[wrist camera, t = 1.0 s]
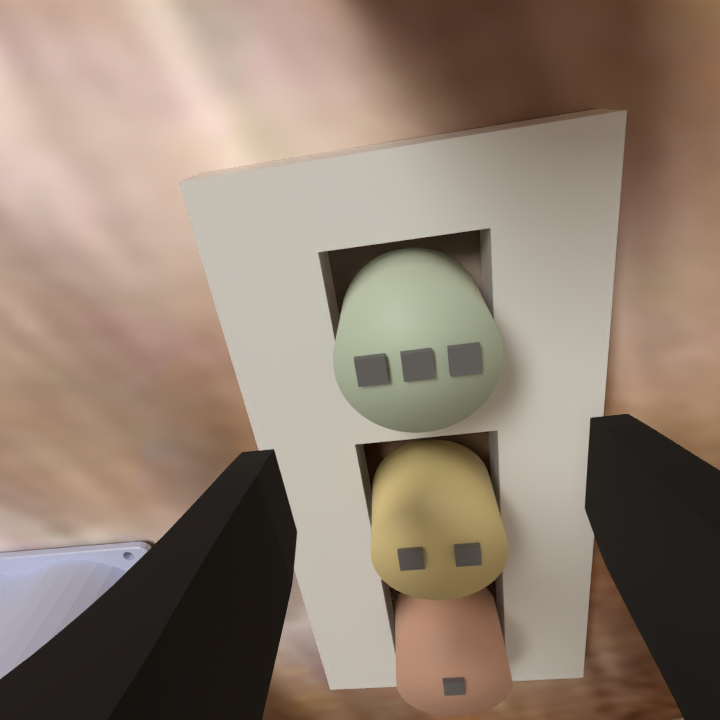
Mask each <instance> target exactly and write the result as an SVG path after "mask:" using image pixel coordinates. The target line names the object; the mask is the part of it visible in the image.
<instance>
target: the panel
mask: <svg viewBox="0 0 720 720" xmlns="http://www.w3.org/2000/svg"><path fill="white" fill-rule="evenodd" d="M626 118H627V110H614V109H593V110H587V111H581V112H575V113H568V114H562V115H556V116H550V117H544V118H538V119H531V120H525V121H519V122H513V123H507V124H500V125H494V126H488V127H482V128H476V129H469V130H463V131H457V132H451V133H445V134H439V135H432V136H426V137H420V138H414V139H408V140H401V141H395V142H389V143H383V144H377V145H371V146H364V147H358V148H352V149H346V150H340V151H333V152H327V153H321V154H315V155H309V156H302V157H296V158H290V159H284V160H278V161H272V162H265V163H259V164H253V165H247V166H241V167H234V168H228V169H222V170H216V171H210V172H204V173H200V174H197V175H195V176H192V177H190V178H187V179H185V180H182V181H180V182H178V183H179V186H180V189H181V193H182V196H183V199H184V203H185V206H186V209H187V213H188V216H189V219H190V223H191V226H192V229H193V233H194V236H195V239H196V243H197V246H198V249H199V253H200V256H201V259H202V263H203V266H204V269H205V273H206V276H207V280H208V283H209V286H210V290H211V293H212V296H213V300H214V303H215V306H216V310H217V313H218V316H219V320H220V323H221V326H222V330H223V333H224V336H225V340H226V343H227V346H228V350H229V353H230V356H231V360H232V363H233V366H234V370H235V373H236V376H237V380H238V383H239V386H240V390H241V393H242V396H243V400H244V403H245V406H246V410H247V413H248V416H249V420H250V423H251V426H252V430H253V433H254V436H255V440H256V443H257V446H258V450H259V451H260V450H270V449H274V451H275V454H276V458H277V461H278V465H279V468H280V472H281V475H282V479H283V483H284V486H285V490H286V493H287V497H288V500H289V504H290V507H291V511H292V514H293V518H294V521H295V525H296V529H297V541H296V552H295V562H294V570H295V573H296V576H297V580H298V583H299V586H300V590H301V593H302V596H303V600H304V603H305V606H306V610H307V613H308V616H309V620H310V623H311V626H312V630H313V633H314V636H315V640H316V643H317V646H318V650H319V653H320V656H321V660H322V663H323V666H324V670H325V673H326V676H327V680H328V683H329V686H330V690H332V689H354V688H375V687H396V686H397V684H396V644H395V615H394V610H393V604H392V599H391V594H390V588H389V585H388V584H387V583H385V582H384V581H383V580H382V579H381V577H380V576H379V575H378V573H377V572H376V570H375V568H374V566H373V563H372V560H371V525H372V490H371V484H370V479H369V474H368V468H367V463H366V457H365V452H364V446H363V444H366V443H376V442H386V441H396V440H406V439H416V438H427V437H437V436H447V435H457V434H467V433H477V432H487V431H489V450H490V472H491V484H492V488H493V491H494V495H495V498H496V502H497V505H498V509H499V513H500V516H501V520H502V523H503V527H504V530H505V534H506V537H507V541H508V547H509V553H508V559H507V562H506V565H505V567H504V569H503V570H502V572H501V573H500V575H499V576H498V577H497V578H496V579H495V583H496V605H497V613H498V617H499V622H500V626H501V631H502V635H503V640H504V644H505V649H506V653H507V658H508V662H509V667H510V671H511V676H512V681H524V680H545V679H566V678H583V672H584V659H585V646H586V633H587V620H588V608H589V595H590V582H591V569H592V556H593V543H594V533H593V531H592V528H591V525H590V522H589V519H588V517H587V514H586V511H585V493H586V477H587V462H588V446H589V430H590V418H592V417H602V416H603V414H604V402H605V389H606V376H607V363H608V350H609V337H610V324H611V311H612V298H613V286H614V273H615V260H616V247H617V234H618V221H619V208H620V195H621V183H622V170H623V157H624V144H625V131H626ZM473 230H480V250H481V272H482V294H483V299H484V301H485V303H486V305H487V307H488V309H489V311H490V313H491V315H492V317H493V319H494V321H495V323H496V325H497V328H498V330H499V332H500V336H501V340H502V343H503V366H502V371H501V375H500V378H499V380H498V383H497V385H496V387H495V389H494V391H493V392H492V394H491V395H490V397H489V398H488V399H487V401H486V402H485V403H484V404H483V405H482V406H481V407H480V408H479V409H478V410H477V411H476V412H474V413H473V414H472V415H470V416H469V417H467V418H466V419H464V420H463V421H461V422H459V423H457V424H455V425H452V426H450V427H447V428H444V429H440V430H437V431H431V432H422V433H409V432H400V431H395V430H391V429H388V428H384V427H382V426H379V425H377V424H375V423H373V422H371V421H370V420H368V419H366V418H365V417H363V416H362V415H361V414H359V413H358V412H357V411H356V410H355V409H354V408H353V407H352V406H351V405H350V404H349V403H348V401H347V400H346V399H345V397H344V396H343V394H342V392H341V391H340V388H339V386H338V384H337V381H336V378H335V374H334V368H333V351H334V345H335V340H336V335H337V330H338V325H339V320H340V315H339V310H338V304H337V299H336V293H335V288H334V283H333V277H332V272H331V266H330V261H329V255H328V251H331V250H338V249H345V248H353V247H360V246H367V245H374V244H381V243H388V242H395V241H402V240H409V239H417V238H424V237H431V236H438V235H445V234H452V233H459V232H466V231H473Z"/></svg>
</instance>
